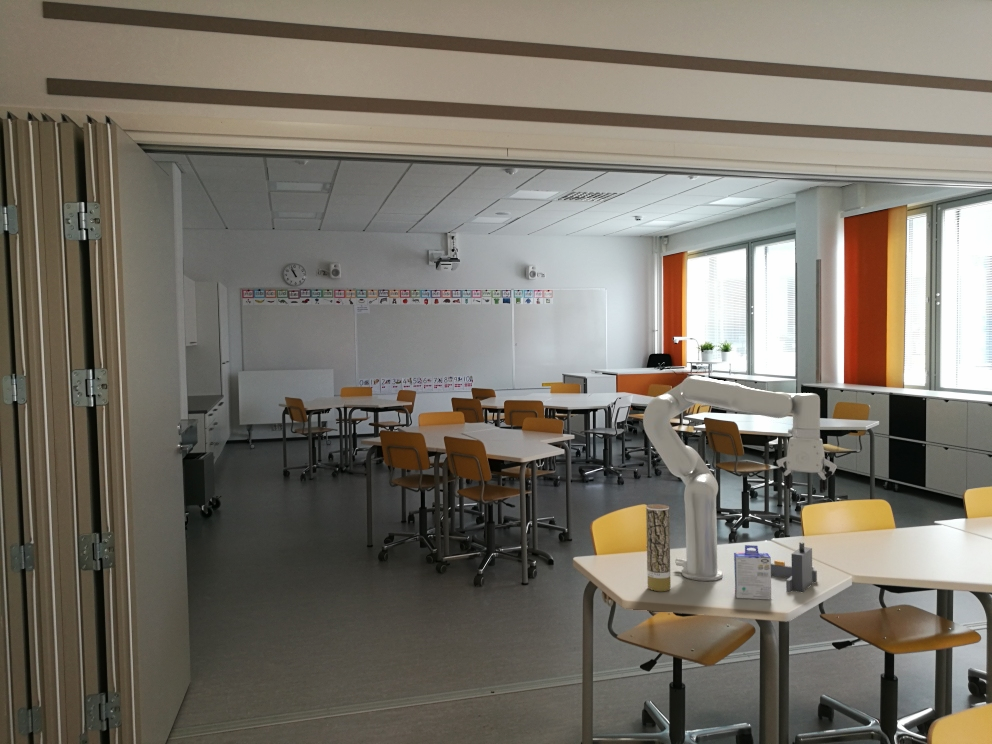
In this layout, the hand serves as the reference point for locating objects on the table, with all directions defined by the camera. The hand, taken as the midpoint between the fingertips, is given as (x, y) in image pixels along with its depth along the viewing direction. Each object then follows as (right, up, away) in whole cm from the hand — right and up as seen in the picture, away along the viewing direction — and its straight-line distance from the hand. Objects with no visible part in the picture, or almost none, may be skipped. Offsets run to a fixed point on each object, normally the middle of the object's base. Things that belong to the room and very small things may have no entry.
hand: (805, 490), depth 216 cm
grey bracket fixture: (-7, -29, +3) cm, 30 cm away
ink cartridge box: (-19, -30, -9) cm, 36 cm away
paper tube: (-45, -30, 0) cm, 54 cm away
